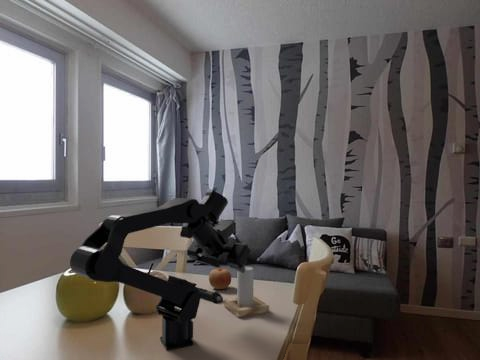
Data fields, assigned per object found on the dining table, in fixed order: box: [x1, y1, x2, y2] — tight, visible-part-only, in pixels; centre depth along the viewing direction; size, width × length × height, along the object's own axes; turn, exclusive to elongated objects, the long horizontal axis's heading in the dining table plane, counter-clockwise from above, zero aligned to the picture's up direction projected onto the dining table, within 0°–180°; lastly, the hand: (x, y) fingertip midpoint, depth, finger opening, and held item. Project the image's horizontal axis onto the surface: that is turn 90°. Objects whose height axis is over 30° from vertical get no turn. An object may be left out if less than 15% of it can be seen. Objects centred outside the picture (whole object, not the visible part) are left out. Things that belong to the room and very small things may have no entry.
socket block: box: [223, 295, 270, 319], centre depth 108 cm, size 10×10×2 cm
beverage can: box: [236, 266, 254, 308], centre depth 108 cm, size 5×5×12 cm
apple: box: [208, 265, 232, 290], centre depth 128 cm, size 8×8×8 cm
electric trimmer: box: [196, 286, 224, 304], centre depth 119 cm, size 4×16×3 cm, turn 50°
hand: (231, 268), depth 102 cm, fingers open, 9 cm apart
